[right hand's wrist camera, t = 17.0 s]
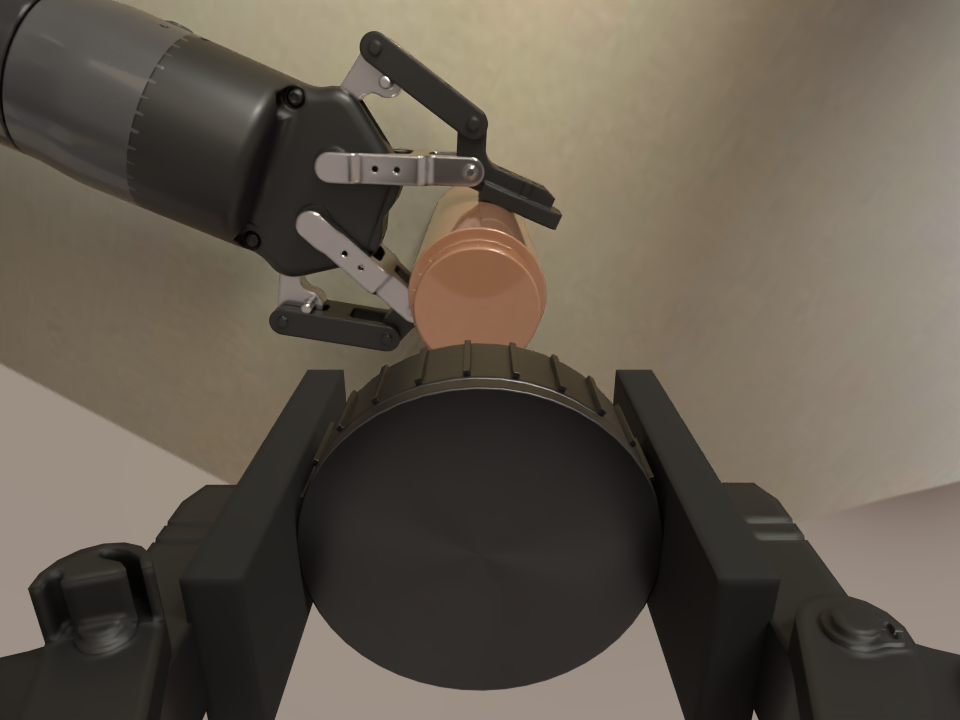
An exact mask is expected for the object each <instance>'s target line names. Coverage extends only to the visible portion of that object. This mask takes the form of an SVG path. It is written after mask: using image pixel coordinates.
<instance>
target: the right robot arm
mask: <svg viewBox="0 0 960 720" xmlns="http://www.w3.org/2000/svg"><path fill="white" fill-rule="evenodd" d="M617 404H618V405H619V406H620V408H621V410H622V412H623V414H624V416H625V419H626V421H627V423H628V425H629V427H630V430H631V432H632V434H633V436H634V438H635V437H636V438H637V440H638V442H639V444H640V446H641V449H642V451H643V453H644V455H645V457H646V460H647V462H648V464H649V466H650V468H651V471H652V473H653V475H654V477H655V480H656V481H655V482H652V485H653V487H654V490H655V492H656V496H657V499H658V502H659V505H660V509H661V514H662V521H663V528H664V534H663V544H662V553H661V560H660V568H659V574H658V577H657V580H656V583H655V586H654V589H653V591H652V593H651V595H650V597H649V599H648V601H647V605H648V608H649V611H650V614H651V617H652V620H653V623H654V626H655V629H656V632H657V635H658V638H659V641H660V644H661V647H662V651H663V653H664V657H665V660H666V663H667V666H668V669H669V672H670V675H671V678H672V681H673V684H674V687H675V690H676V693H677V697H678V700H679V703H680V706H681V709H682V712H683V715H684V718H685V720H752V715H753V710H755V713H756V715H757V717H758V719H759V720H960V655H958V654H954V653H949V652H945V651H941V650H936V649H932V648H928V647H925V646H922V645H918V644H915V642H914V641H913V639H912V638H911V636H910V635H909V633H908V632H907V630H906V629H905V627H904V626H903V625H901V624H900V623H899V622H898V621H897V620H895V619H894V618H893V617H892V616H891V615H889V614H888V613H887V612H885V611H883V610H881V609H879V608H878V607H876V606H874V605H872V604H870V603H868V602H866V601H863V600H859V599H856V598H853V597H849V596H848V595H847V594H846V592H845V591H844V590H843V588H842V587H841V586H840V584H839V583H838V581H837V580H836V579H835V577H834V576H833V575H832V573H831V572H830V570H829V569H828V568H827V566H826V565H825V564H824V562H823V561H822V560H821V558H820V557H819V555H818V554H817V553H816V551H815V550H814V549H813V547H812V546H811V544H810V543H809V542H808V541H807V540H805V539H804V535H803V533H802V532H801V531H800V529H799V528H798V527H797V525H796V524H793V523H792V518H791V517H790V516H789V514H788V513H787V512H786V510H785V509H784V507H783V506H782V505H781V503H780V502H779V501H778V499H776V498H775V497H773V496H772V495H770V494H769V493H767V492H766V491H765V490H763V489H762V488H760V487H759V486H757V485H756V484H755V483H721V481H720V480H719V478H718V477H717V475H716V473H715V472H714V470H713V468H712V467H711V465H710V464H709V462H708V460H707V459H706V457H705V456H704V454H703V452H702V451H701V449H700V447H699V446H698V444H697V443H696V441H695V439H694V438H693V436H692V434H691V433H690V431H689V430H688V428H687V426H686V425H685V423H684V421H683V420H682V418H681V417H680V415H679V413H678V412H677V410H676V408H675V407H674V405H673V404H672V402H671V400H670V399H669V397H668V396H667V394H666V392H665V391H664V389H663V387H662V386H661V384H660V383H659V381H658V379H657V378H656V376H655V374H654V373H653V371H652V370H616V376H615V388H614V401H613V406H615V405H617ZM345 405H346V393H345V381H344V370H307V372H306V374H305V375H304V377H303V379H302V380H301V382H300V383H299V385H298V387H297V388H296V390H295V392H294V393H293V395H292V396H291V398H290V400H289V401H288V403H287V405H286V406H285V408H284V409H283V411H282V413H281V414H280V416H279V418H278V419H277V421H276V422H275V424H274V426H273V427H272V429H271V430H270V432H269V434H268V435H267V437H266V439H265V440H264V442H263V443H262V445H261V447H260V448H259V450H258V452H257V453H256V455H255V456H254V458H253V460H252V461H251V463H250V465H249V466H248V468H247V469H246V471H245V473H244V474H243V476H242V477H241V479H240V481H239V482H238V484H237V485H206V486H204V487H203V488H201V489H200V490H198V491H197V492H195V493H194V494H193V495H191V496H190V497H188V498H187V499H186V500H184V501H183V502H182V503H181V504H180V506H179V507H178V508H177V510H176V511H175V512H174V514H173V515H172V516H171V518H170V519H169V521H168V525H167V526H164V528H163V529H162V530H161V532H160V533H159V534H158V536H157V537H156V541H155V543H152V544H151V546H150V547H149V548H148V550H147V551H146V550H145V549H144V548H143V547H142V546H138V545H134V544H129V543H125V542H124V543H107V544H100V545H97V546H93V547H89V548H85V549H81V550H79V551H77V552H74V553H72V554H70V555H68V556H66V557H64V558H61V559H59V560H57V561H56V562H55V563H53V564H52V565H51V566H49V567H48V568H46V569H45V570H44V571H42V572H41V573H40V574H39V575H38V576H37V577H36V579H35V580H34V581H33V583H32V584H31V585H30V587H29V588H28V590H29V593H30V596H31V600H32V603H33V606H34V609H35V612H36V616H37V619H38V622H39V625H40V628H41V631H42V635H43V637H44V641H45V646H44V647H41V648H38V649H34V650H31V651H27V652H23V653H18V654H14V655H10V656H5V657H1V658H0V720H202V719H203V717H204V715H205V713H206V712H207V717H208V720H275V717H276V714H277V711H278V708H279V704H280V701H281V698H282V695H283V692H284V689H285V686H286V683H287V680H288V677H289V674H290V671H291V668H292V665H293V662H294V659H295V656H296V652H297V649H298V646H299V643H300V640H301V637H302V634H303V631H304V628H305V625H306V622H307V619H308V616H309V613H310V610H311V606H312V603H313V601H312V599H311V597H310V596H309V593H308V591H307V588H306V586H305V583H304V581H303V578H302V575H301V571H300V563H299V556H298V547H297V539H296V530H297V519H298V513H299V510H300V506H301V495H302V493H303V490H304V488H305V486H306V484H307V481H308V479H309V477H310V475H311V472H312V470H313V468H314V465H313V464H312V461H313V459H314V457H315V454H316V452H317V450H318V448H319V446H320V443H321V441H322V439H323V437H324V435H325V432H326V430H327V428H328V426H329V424H330V422H334V423H335V422H336V421H337V419H338V418H339V416H340V414H341V413H342V411H343V410H344V408H345Z"/></svg>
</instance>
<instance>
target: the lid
mask: <svg viewBox="0 0 960 720" xmlns="http://www.w3.org/2000/svg"><path fill="white" fill-rule="evenodd" d="M312 464H313V465H314V468H313V470H312V472H311V475H310V477H309V479H308V481H307V484H306V486H305V488H304V490H303V493H302V495H301V506H300V510H299V513H298V519H297V530H296V539H297V547H298V556H299V563H300V571H301V575H302V578H303V581H304V583H305V586H306V588H307V591H308V593H309V596H310V597H311V599H312V601H313V603H314V604H315V606H316V608H317V610H318V611H319V613H320V614H321V616H322V617H323V618H324V619H325V621H326V622H327V623H328V625H329V626H330V627H331V628H332V629H333V630H334V631H335V632H336V633H337V634H338V635H339V636H340V637H341V638H342V639H343V640H344V641H345V642H346V643H347V644H348V645H349V646H351V647H352V648H353V649H355V650H356V651H357V652H358V653H360V654H361V655H362V656H364V657H366V658H367V659H369V660H371V661H372V662H374V663H375V664H377V665H379V666H381V667H383V668H385V669H387V670H389V671H391V672H393V673H396V674H398V675H400V676H403V677H406V678H409V679H412V680H415V681H418V682H421V683H425V684H430V685H434V686H438V687H444V688H452V689H459V690H483V691H484V690H500V689H509V688H515V687H521V686H527V685H530V684H534V683H538V682H542V681H546V680H549V679H551V678H554V677H556V676H559V675H562V674H564V673H567V672H569V671H571V670H573V669H575V668H577V667H579V666H581V665H583V664H585V663H586V662H588V661H589V660H591V659H592V658H594V657H596V656H597V655H599V654H600V653H602V652H603V651H604V650H606V649H607V648H608V647H609V646H610V645H611V644H613V643H614V642H615V641H616V640H617V639H619V638H620V637H621V635H622V634H623V633H624V632H625V631H626V630H627V629H628V628H629V627H630V626H631V625H632V624H633V622H634V621H635V619H636V618H637V617H638V615H639V614H640V612H641V611H642V609H643V608H644V606H645V605H646V603H647V601H648V599H649V597H650V595H651V593H652V591H653V589H654V586H655V583H656V580H657V577H658V574H659V568H660V560H661V553H662V544H663V534H664V528H663V521H662V514H661V509H660V505H659V502H658V499H657V496H656V492H655V490H654V487H653V485H652V482H655V481H656V480H655V477H654V475H653V473H652V471H651V468H650V466H649V464H648V462H647V460H646V457H645V455H644V453H643V451H642V449H641V446H640V444H639V442H638V440H637V438H636V437H635V438H634V436H633V434H632V432H631V430H630V427H629V425H628V423H627V421H626V419H625V416H624V414H623V412H622V410H621V408H620V406H619V405H618V404H617V405H615V406H613V404H612V403H611V402H610V400H609V399H608V398H607V397H606V396H605V395H604V394H603V393H602V392H601V391H600V390H599V389H598V388H597V386H596V384H595V381H594V379H593V378H592V377H591V376H588V377H587V378H585V377H584V376H583V375H581V374H580V373H578V372H577V371H575V370H573V369H572V368H570V367H568V366H567V365H565V364H564V363H561V362H559V359H558V356H556V355H553V354H552V355H551V357H548V356H546V355H543V354H540V353H537V352H534V351H530V350H527V349H524V348H519V347H516V343H513V342H510V343H509V346H507V345H501V344H484V343H472V344H471V340H465V343H464V344H460V345H451V346H447V347H442V348H437V349H432V350H429V351H428V349H427V347H426V348H423V349H421V351H420V354H417V355H414V356H411V357H409V358H407V359H405V360H403V361H401V362H399V363H397V364H395V365H393V366H391V367H388V365H385V366H383V367H382V369H381V372H380V374H379V375H377V376H376V377H374V378H373V379H372V380H371V381H370V382H369V383H367V384H366V385H365V386H364V387H363V388H362V389H361V390H360V391H358V392H356V391H355V390H354V391H353V392H352V393H351V394H350V396H349V398H348V401H347V403H346V405H345V408H344V410H343V411H342V413H341V414H340V416H339V418H338V419H337V421H336V422H335V423H334V422H330V424H329V426H328V428H327V430H326V432H325V435H324V437H323V439H322V441H321V443H320V446H319V448H318V450H317V452H316V454H315V457H314V459H313V461H312Z"/></svg>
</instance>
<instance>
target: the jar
mask: <svg viewBox="0 0 960 720" xmlns="http://www.w3.org/2000/svg"><path fill="white" fill-rule="evenodd" d="M408 301H409V307H410V311H411V314H412V317H413V322H414V326H415V328H416V330H417V332H418V334H419V336H420V339H421V340H422V341H423V342H424V343H425V345H426V346H427V347H428V348H429V349H430V350H432V349H437V348H442V347H447V346H451V345H460V344H464V343H465V340H471V344H472V343H484V344H501V345H507V346H509V343H510V342H513V343H516V347H519V348H525V347H526V346H527V345H528V343H529V342H530V341H531V339H532V337H533V336H534V334H535V332H536V329H537V327H538V324H539V322H540V320H541V318H542V315H543V312H544V308H545V303H546V285H545V279H544V276H543V272H542V269H541V266H540V264H539V261H538V258H537V255H536V253H535V250H534V247H533V244H532V241H531V239H530V236H529V233H528V230H527V228H526V225H525V222H524V219H523V217H522V216H520V215H518V214H515V213H513V212H511V211H508V210H506V209H504V208H502V207H500V206H497V205H495V204H492V203H490V202H488V201H485V200H483V199H481V198H478V191H476V190H474V189H472V188H469V187H462V186H454V187H452V188H451V189H449V190H448V191H447V192H446V193H445V194H444V195H443V196H442V198H441V199H440V200H439V202H438V203H437V206H436V208H435V210H434V213H433V215H432V218H431V221H430V224H429V226H428V229H427V232H426V235H425V237H424V240H423V243H422V245H421V248H420V251H419V254H418V256H417V259H416V262H415V264H414V267H413V270H412V273H411V276H410V280H409V286H408Z"/></svg>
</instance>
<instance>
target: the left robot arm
mask: <svg viewBox="0 0 960 720" xmlns="http://www.w3.org/2000/svg"><path fill="white" fill-rule="evenodd" d="M360 52H361V53H360V55H359V57H358V58H357V60H356V62H355V63H354V65H353V66H352V68H351V70H350V71H349V73H348V75H347V76H346V78H345V80H344V81H343V83H342V85H341V86H328V87H315V86H312V85H309V84H306V83H304V82H302V81H299V80H297V79H295V78H293V77H290V76H288V75H286V74H284V73H281V72H279V71H277V70H275V69H272V68H270V67H268V66H266V65H263V64H261V63H259V62H257V61H254V60H252V59H250V58H247V57H245V56H243V55H241V54H238V53H236V52H234V51H232V50H229V49H227V48H225V47H223V46H221V45H218V44H216V43H214V42H211V41H209V40H207V39H205V38H202V37H200V36H198V35H195V34H194V33H193V32H192V31H191V30H189V29H187V28H186V27H184V26H182V25H180V24H178V23H175V22H173V21H164V20H162V19H160V18H157V17H155V16H153V15H151V14H148V13H146V12H144V11H141V10H139V9H136V8H134V7H131V6H128V5H125V4H122V3H119V2H115V1H112V0H0V144H1V145H3V146H6V147H8V148H11V149H13V150H16V151H18V152H21V153H23V154H26V155H29V156H31V157H33V158H35V159H37V160H39V161H42V162H43V163H45V164H47V165H49V166H51V167H53V168H55V169H56V170H58V171H60V172H62V173H63V174H65V175H67V176H69V177H71V178H73V179H75V180H76V181H78V182H81V183H83V184H85V185H87V186H90V187H92V188H94V189H97V190H99V191H102V192H105V193H107V194H110V195H112V196H115V197H117V198H119V199H122V200H124V201H127V202H129V203H132V204H134V205H137V206H139V207H142V208H144V209H147V210H149V211H152V212H154V213H157V214H159V215H162V216H164V217H167V218H169V219H172V220H174V221H177V222H179V223H182V224H184V225H187V226H189V227H192V228H194V229H197V230H199V231H202V232H204V233H207V234H209V235H212V236H214V237H217V238H219V239H222V240H224V241H227V242H229V243H232V244H234V245H237V246H240V247H243V248H246V249H249V250H251V251H254V252H256V253H257V254H259V255H260V256H262V257H263V258H264V259H265V260H266V261H267V262H268V263H269V264H270V265H271V266H272V268H273V269H275V270H276V271H277V272H279V273H280V280H279V295H278V307H277V309H276V310H275V311H274V312H273V313H272V314H271V316H270V318H269V323H270V326H271V328H272V329H273V330H274V331H275V332H276V333H279V334H282V335H288V336H295V337H301V338H307V339H313V340H319V341H325V342H332V343H338V344H344V345H350V346H356V347H362V348H369V349H375V350H381V351H392V350H394V349H395V348H396V347H397V346H398V344H399V342H400V341H401V340H402V339H403V338H404V336H405V335H406V334H407V333H408V332H409V331H410V330H411V329H412V328H414V327H415V326H414V322H413V317H412V314H411V311H410V307H409V301H408V286H409V280H410V276H411V272H410V271H409V270H408V269H406V268H405V267H404V266H403V265H402V264H401V263H400V261H399V259H398V258H397V257H396V255H395V254H394V253H393V252H391V251H390V250H389V249H388V248H387V247H386V246H385V245H384V244H383V243H382V241H383V238H384V235H385V233H386V230H387V224H388V213H389V210H390V208H391V207H392V206H393V204H394V203H395V201H396V200H397V199H398V197H399V195H400V193H401V190H402V187H403V185H405V186H427V185H440V186H462V187H469V188H472V189H474V190H476V191H478V198H481V199H483V200H485V201H488V202H490V203H492V204H495V205H497V206H500V207H502V208H504V209H506V210H508V211H511V212H513V213H515V214H518V215H520V216H522V217H524V218H527V219H529V220H531V221H534V222H536V223H538V224H541V225H543V226H545V227H548V228H550V229H553V230H556V228H557V226H558V223H559V221H560V219H561V217H562V214H561V212H560V211H559V210H558V209H556V208H555V207H553V206H552V205H553V202H554V200H555V198H554V197H553V196H552V194H551V193H550V192H549V191H548V190H547V189H546V188H545V187H544V186H543V185H540V184H538V183H536V182H534V181H531V180H529V179H527V178H525V177H522V176H520V175H518V174H516V173H513V172H511V171H509V170H507V169H504V168H502V167H500V166H498V165H496V164H494V163H492V162H491V161H490V160H489V158H488V156H487V154H486V134H487V128H488V121H487V118H486V115H485V113H484V112H483V111H482V110H481V109H479V108H478V107H477V106H475V105H474V104H473V103H472V102H470V101H469V100H468V99H467V98H465V97H464V96H463V95H461V94H460V93H459V92H458V91H456V90H455V89H454V88H453V87H451V86H450V85H449V84H447V83H446V82H445V81H444V80H442V79H441V78H440V77H439V76H437V75H436V74H435V73H433V72H432V71H431V70H430V69H428V68H427V67H426V66H425V65H423V64H422V63H421V62H419V61H418V60H417V59H416V58H414V57H413V56H412V55H411V54H409V53H408V52H407V51H405V50H404V49H403V48H402V47H400V46H399V45H398V44H397V43H395V42H394V41H393V40H391V39H390V38H388V37H387V36H385V35H384V34H382V33H380V32H377V31H372V32H369V33H367V34H365V35H364V36H363V38H362V39H361V42H360ZM402 90H404V91H405V92H407V93H408V94H409V95H411V96H412V97H413V98H414V99H416V100H417V101H418V102H420V103H421V104H422V105H424V106H425V107H426V108H427V109H429V110H430V111H431V112H433V113H434V114H435V115H437V116H438V117H439V118H440V119H442V120H443V121H444V122H446V123H447V124H448V125H450V126H451V127H452V128H453V129H455V130H456V131H457V132H458V137H457V152H453V151H434V150H427V149H408V148H392V147H391V145H390V144H389V142H388V140H387V139H386V137H385V135H384V134H383V132H382V131H381V129H380V127H379V126H378V124H377V122H376V121H375V119H374V118H373V116H372V114H371V113H370V111H369V110H368V108H367V106H366V105H365V103H364V101H363V99H364V97H365V96H367V95H368V94H371V93H375V94H378V95H380V96H381V97H384V98H393V97H396V96H398V95H399V94H400V93H401V92H402ZM360 265H362V266H363V267H364V268H361V267H360ZM339 267H340V268H341V269H343V270H344V271H345V272H346V273H347V274H348V275H349V276H351V277H352V278H353V279H354V280H355V281H356V282H357V283H359V284H360V285H361V286H362V287H363V288H364V289H365V290H367V291H368V292H369V293H371V294H374V295H377V296H379V297H380V298H381V299H382V300H383V301H384V302H386V303H387V304H388V305H389V306H390V307H391V308H390V310H386V309H380V308H374V307H368V306H362V305H356V304H350V303H343V302H337V301H331V300H327V296H326V294H325V292H324V291H323V290H322V289H320V288H318V287H315V286H313V285H311V284H310V283H309V282H308V281H307V279H306V277H305V275H308V274H313V273H317V272H321V271H326V270H330V269H335V268H339Z"/></svg>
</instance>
